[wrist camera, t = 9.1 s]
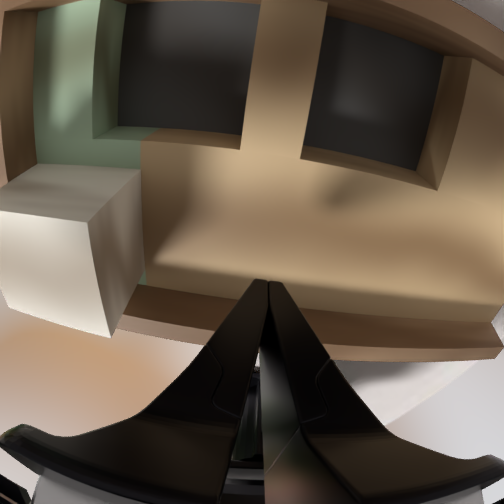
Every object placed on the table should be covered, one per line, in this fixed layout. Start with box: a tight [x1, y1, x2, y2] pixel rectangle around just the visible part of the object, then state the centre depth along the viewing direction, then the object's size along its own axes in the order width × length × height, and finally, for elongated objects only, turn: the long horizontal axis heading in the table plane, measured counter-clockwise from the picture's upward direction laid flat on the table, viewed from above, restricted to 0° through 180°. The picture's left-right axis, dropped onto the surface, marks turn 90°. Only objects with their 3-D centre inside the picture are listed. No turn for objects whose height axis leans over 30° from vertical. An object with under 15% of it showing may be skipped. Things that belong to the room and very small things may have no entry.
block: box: [0, 164, 145, 338], centre depth 10 cm, size 4×5×4 cm
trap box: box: [0, 0, 504, 362], centre depth 11 cm, size 14×25×4 cm, turn 82°
